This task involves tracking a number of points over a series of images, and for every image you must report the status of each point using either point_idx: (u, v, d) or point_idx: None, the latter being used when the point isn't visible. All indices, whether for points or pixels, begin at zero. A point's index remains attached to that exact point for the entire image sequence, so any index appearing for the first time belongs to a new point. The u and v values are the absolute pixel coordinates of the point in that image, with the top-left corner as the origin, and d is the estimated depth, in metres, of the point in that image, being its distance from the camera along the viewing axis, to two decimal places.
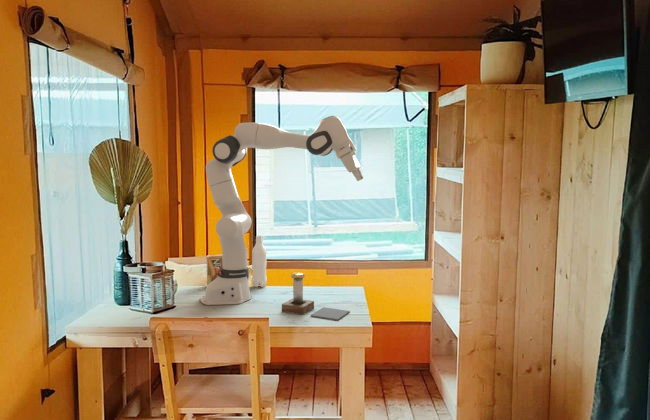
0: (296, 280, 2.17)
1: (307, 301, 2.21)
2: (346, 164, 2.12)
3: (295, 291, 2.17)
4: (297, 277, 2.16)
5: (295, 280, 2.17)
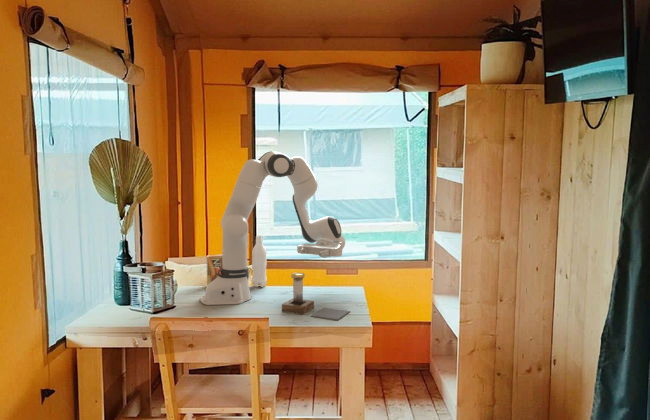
0: (296, 280, 2.17)
1: (307, 301, 2.21)
2: (339, 249, 2.31)
3: (295, 291, 2.17)
4: (297, 277, 2.16)
5: (295, 280, 2.17)
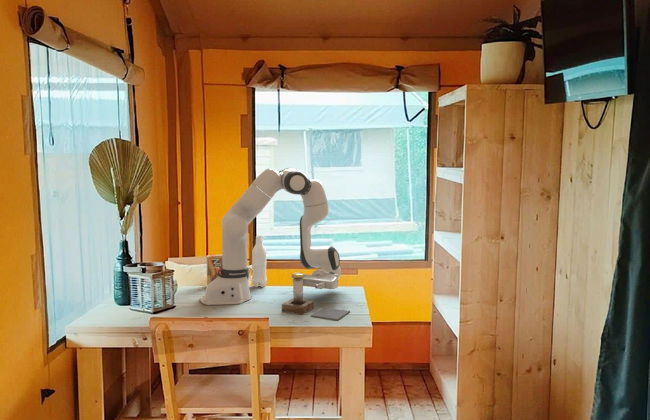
0: (296, 280, 2.17)
1: (307, 301, 2.21)
2: (335, 281, 2.29)
3: (295, 291, 2.17)
4: (297, 277, 2.15)
5: (295, 280, 2.17)
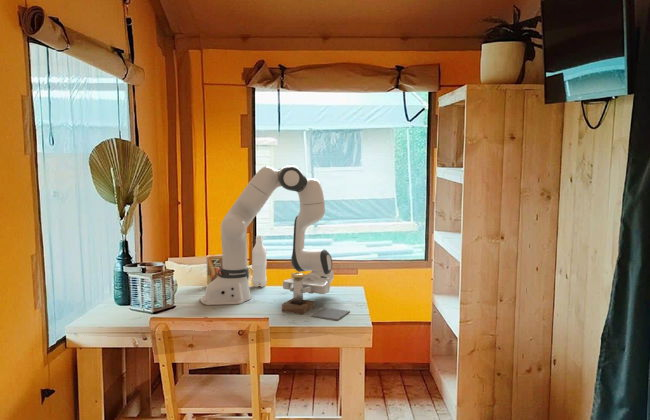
0: (296, 280, 2.17)
1: (307, 301, 2.21)
2: (326, 285, 2.21)
3: (295, 291, 2.17)
4: (297, 277, 2.16)
5: (295, 280, 2.17)
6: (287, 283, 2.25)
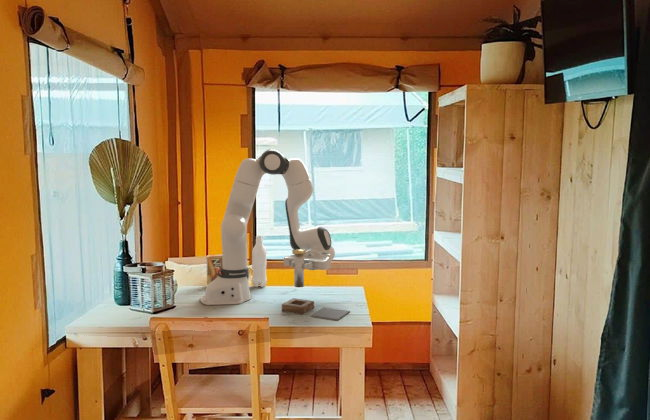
0: (297, 256, 2.15)
1: (307, 301, 2.21)
2: (328, 261, 2.20)
3: (296, 267, 2.16)
4: (298, 253, 2.14)
5: (296, 256, 2.16)
6: (288, 259, 2.24)
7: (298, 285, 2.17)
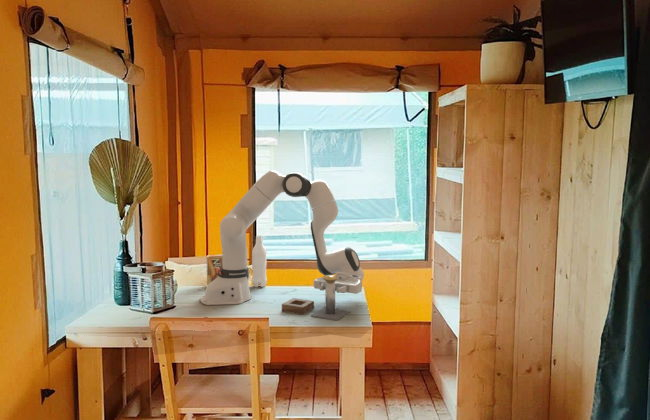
0: (328, 283, 2.10)
1: (307, 301, 2.21)
2: (359, 285, 2.15)
3: (327, 294, 2.11)
4: (330, 279, 2.09)
5: (327, 283, 2.10)
6: (318, 282, 2.19)
7: (329, 312, 2.11)
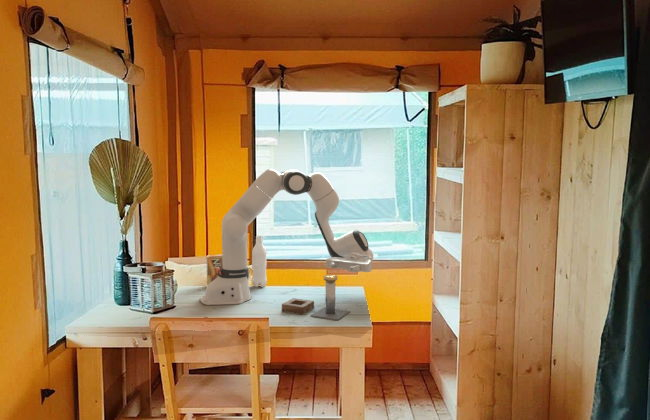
0: (328, 283, 2.10)
1: (307, 301, 2.21)
2: (370, 264, 2.25)
3: (328, 294, 2.11)
4: (330, 279, 2.09)
5: (327, 283, 2.10)
6: (331, 261, 2.30)
7: (329, 312, 2.11)
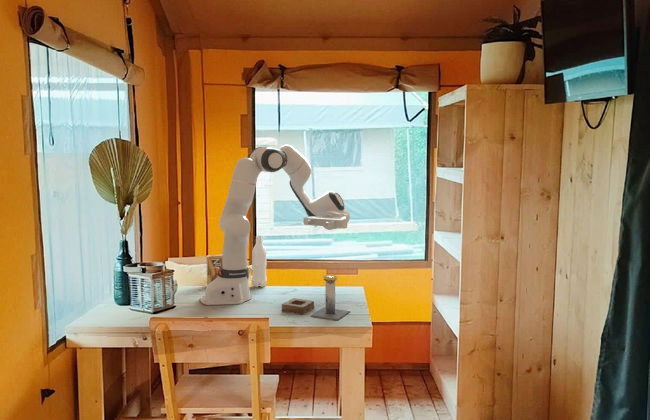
0: (328, 283, 2.10)
1: (307, 301, 2.21)
2: (345, 220, 2.37)
3: (327, 294, 2.11)
4: (330, 279, 2.09)
5: (327, 283, 2.10)
6: (308, 219, 2.41)
7: (329, 312, 2.11)
